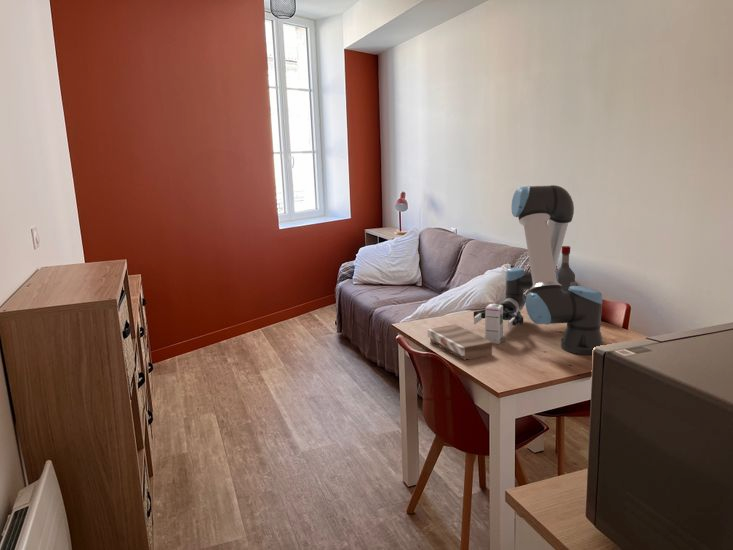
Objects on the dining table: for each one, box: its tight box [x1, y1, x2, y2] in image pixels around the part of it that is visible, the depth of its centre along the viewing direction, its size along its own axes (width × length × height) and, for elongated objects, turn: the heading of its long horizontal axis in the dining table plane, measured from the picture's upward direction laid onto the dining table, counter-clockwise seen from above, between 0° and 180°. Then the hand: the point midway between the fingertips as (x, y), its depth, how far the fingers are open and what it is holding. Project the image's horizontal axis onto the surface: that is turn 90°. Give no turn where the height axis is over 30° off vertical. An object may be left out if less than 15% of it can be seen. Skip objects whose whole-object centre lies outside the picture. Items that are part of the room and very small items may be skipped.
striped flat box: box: [427, 323, 493, 361], centre depth 204 cm, size 24×14×5 cm, turn 24°
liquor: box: [555, 245, 576, 292], centre depth 247 cm, size 9×9×30 cm
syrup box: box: [484, 303, 504, 345], centre depth 209 cm, size 6×6×14 cm
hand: (491, 323), depth 206 cm, fingers open, 13 cm apart
